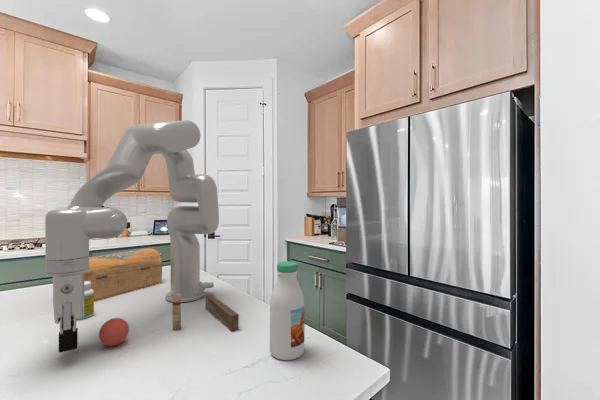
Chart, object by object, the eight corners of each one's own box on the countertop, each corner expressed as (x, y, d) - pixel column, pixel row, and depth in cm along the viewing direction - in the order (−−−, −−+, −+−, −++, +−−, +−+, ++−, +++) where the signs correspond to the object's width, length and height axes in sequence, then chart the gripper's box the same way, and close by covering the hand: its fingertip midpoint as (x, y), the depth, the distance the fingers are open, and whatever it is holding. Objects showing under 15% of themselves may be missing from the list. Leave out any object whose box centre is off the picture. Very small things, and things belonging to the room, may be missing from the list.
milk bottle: (278, 365, 61) (278, 268, 61) (264, 348, 68) (264, 261, 68) (310, 355, 65) (310, 264, 65) (294, 340, 72) (294, 258, 72)
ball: (127, 336, 74) (127, 312, 74) (130, 345, 69) (130, 320, 69) (98, 343, 71) (98, 317, 71) (99, 353, 66) (99, 326, 66)
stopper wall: (211, 306, 94) (211, 294, 94) (238, 329, 78) (238, 314, 78) (205, 308, 93) (205, 295, 93) (231, 331, 77) (231, 316, 77)
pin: (179, 326, 80) (179, 293, 80) (181, 329, 78) (181, 295, 78) (171, 328, 79) (171, 294, 79) (173, 331, 77) (173, 296, 77)
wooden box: (140, 278, 129) (140, 246, 129) (163, 283, 120) (163, 249, 120) (55, 298, 103) (55, 258, 103) (77, 307, 95) (77, 263, 95)
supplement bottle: (81, 320, 84) (81, 286, 83) (66, 319, 85) (65, 285, 85) (98, 313, 89) (98, 281, 89) (83, 312, 90) (83, 280, 90)
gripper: (89, 269, 61) (89, 358, 61) (88, 258, 73) (89, 332, 73) (41, 275, 57) (41, 371, 57) (49, 261, 69) (49, 340, 69)
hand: (68, 349), depth 65 cm, fingers closed
